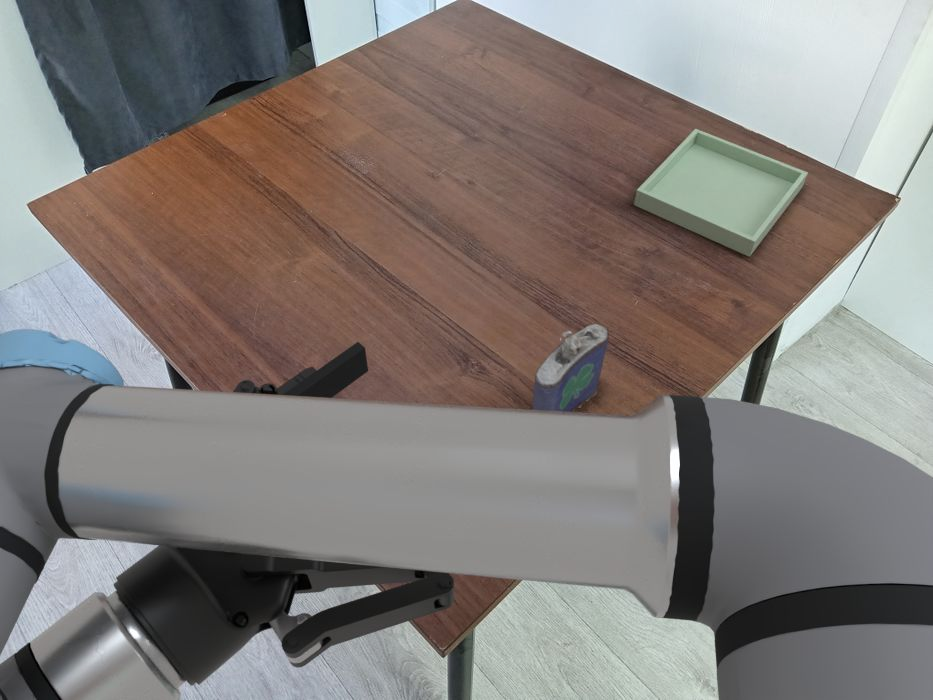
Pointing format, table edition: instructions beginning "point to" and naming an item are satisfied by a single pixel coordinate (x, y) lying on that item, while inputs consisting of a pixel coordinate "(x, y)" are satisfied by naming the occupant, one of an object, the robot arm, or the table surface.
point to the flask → (571, 371)
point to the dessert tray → (721, 191)
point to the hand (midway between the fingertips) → (429, 412)
